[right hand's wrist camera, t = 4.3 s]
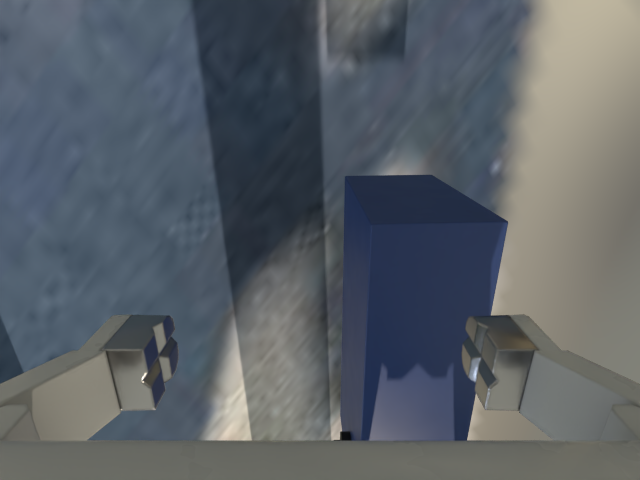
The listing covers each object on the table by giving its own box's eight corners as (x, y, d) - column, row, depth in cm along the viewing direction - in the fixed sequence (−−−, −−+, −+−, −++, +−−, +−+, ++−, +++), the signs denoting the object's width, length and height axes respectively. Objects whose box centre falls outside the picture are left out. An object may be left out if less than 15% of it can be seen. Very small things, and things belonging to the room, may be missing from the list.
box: (344, 175, 25) (370, 224, 16) (432, 174, 26) (508, 221, 16) (340, 415, 33) (355, 543, 24) (407, 412, 33) (448, 538, 24)
